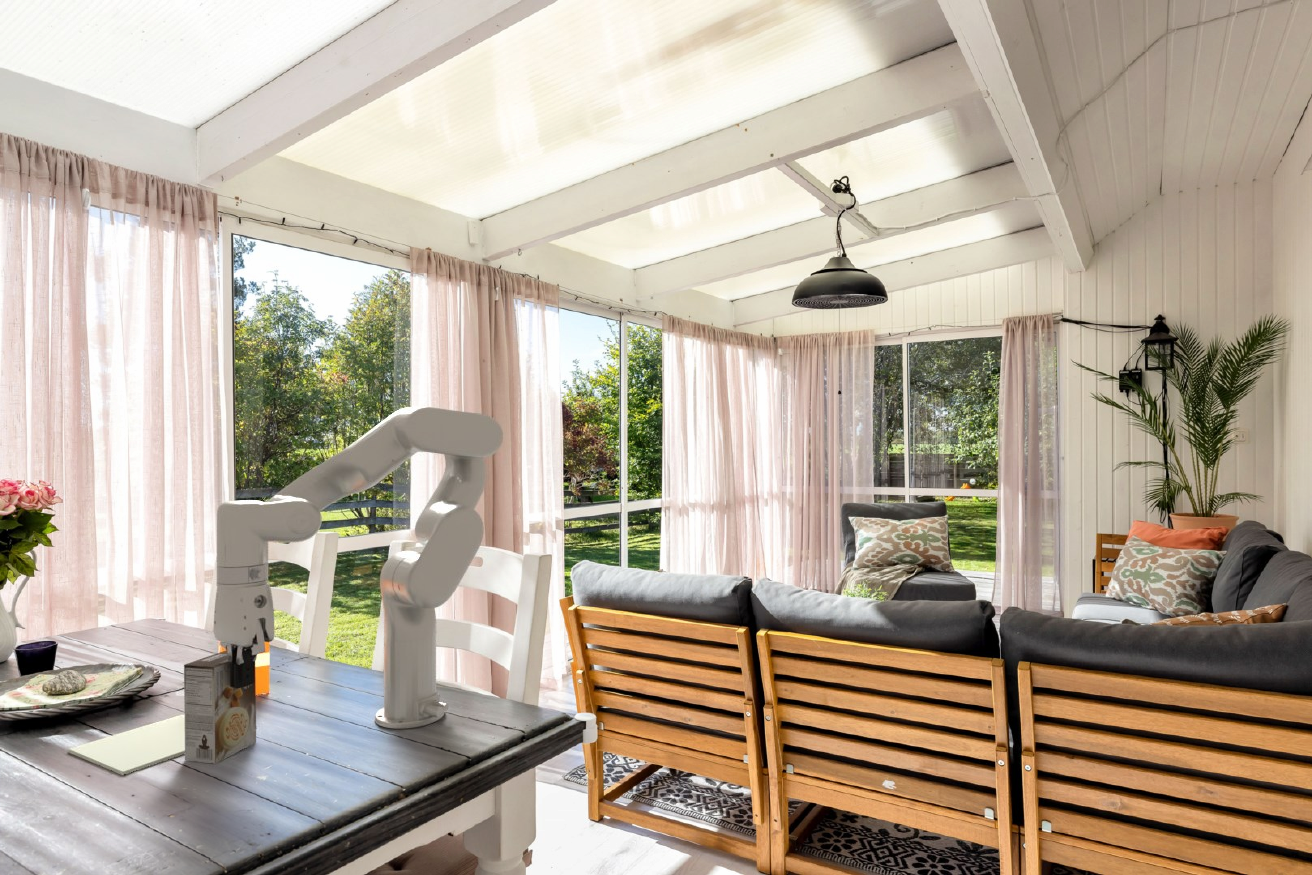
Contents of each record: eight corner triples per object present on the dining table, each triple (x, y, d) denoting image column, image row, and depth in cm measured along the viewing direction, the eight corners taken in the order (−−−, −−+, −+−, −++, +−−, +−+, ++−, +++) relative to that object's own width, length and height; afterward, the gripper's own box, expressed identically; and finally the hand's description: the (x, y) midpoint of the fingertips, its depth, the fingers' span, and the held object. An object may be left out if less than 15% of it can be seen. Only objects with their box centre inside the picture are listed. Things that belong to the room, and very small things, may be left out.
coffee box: (226, 739, 132) (226, 648, 132) (257, 743, 131) (257, 651, 131) (182, 761, 123) (182, 663, 124) (215, 765, 122) (215, 666, 122)
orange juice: (269, 693, 157) (269, 597, 157) (221, 701, 152) (221, 603, 152) (264, 683, 163) (265, 591, 164) (218, 691, 158) (218, 596, 159)
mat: (256, 729, 137) (256, 725, 137) (122, 775, 118) (122, 771, 118) (201, 711, 146) (201, 708, 146) (68, 752, 127) (68, 748, 127)
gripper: (291, 575, 124) (291, 686, 124) (237, 568, 131) (237, 673, 131) (248, 582, 118) (247, 699, 117) (193, 574, 125) (193, 685, 125)
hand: (242, 685), depth 124 cm, fingers closed
